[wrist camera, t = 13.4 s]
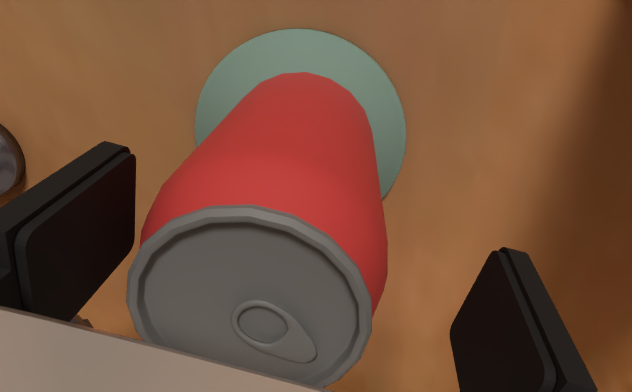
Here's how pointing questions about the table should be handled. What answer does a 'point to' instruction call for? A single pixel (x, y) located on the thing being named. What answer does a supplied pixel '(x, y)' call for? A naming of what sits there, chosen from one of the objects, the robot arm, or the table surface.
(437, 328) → the table surface
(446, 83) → the table surface
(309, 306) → the beer can
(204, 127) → the coaster
